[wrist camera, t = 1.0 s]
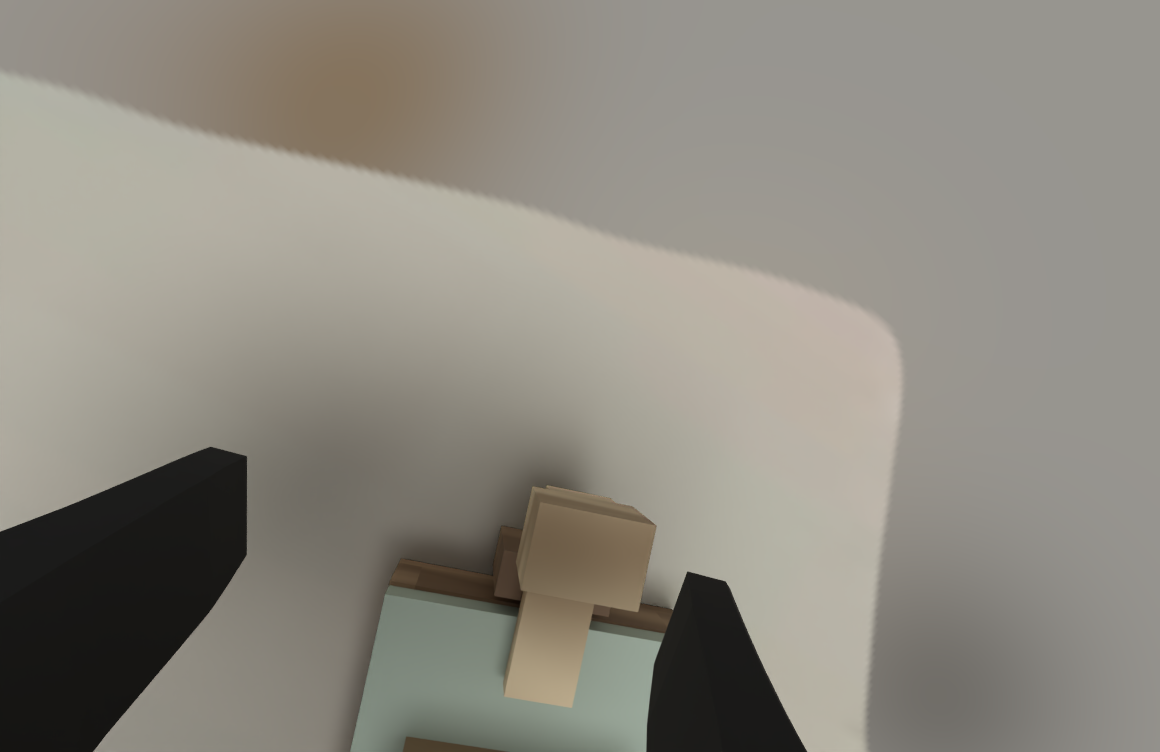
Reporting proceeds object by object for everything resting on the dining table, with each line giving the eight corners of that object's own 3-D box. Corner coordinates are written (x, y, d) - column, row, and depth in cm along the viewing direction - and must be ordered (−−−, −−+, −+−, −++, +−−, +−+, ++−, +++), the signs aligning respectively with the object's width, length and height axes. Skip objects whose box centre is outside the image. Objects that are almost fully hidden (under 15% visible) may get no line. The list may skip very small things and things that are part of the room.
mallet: (583, 696, 22) (605, 764, 18) (486, 679, 21) (486, 745, 18) (625, 501, 22) (656, 525, 18) (530, 481, 22) (540, 502, 18)
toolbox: (608, 910, 26) (630, 1003, 22) (329, 872, 25) (298, 964, 21) (681, 561, 27) (715, 591, 23) (412, 508, 25) (398, 529, 22)
